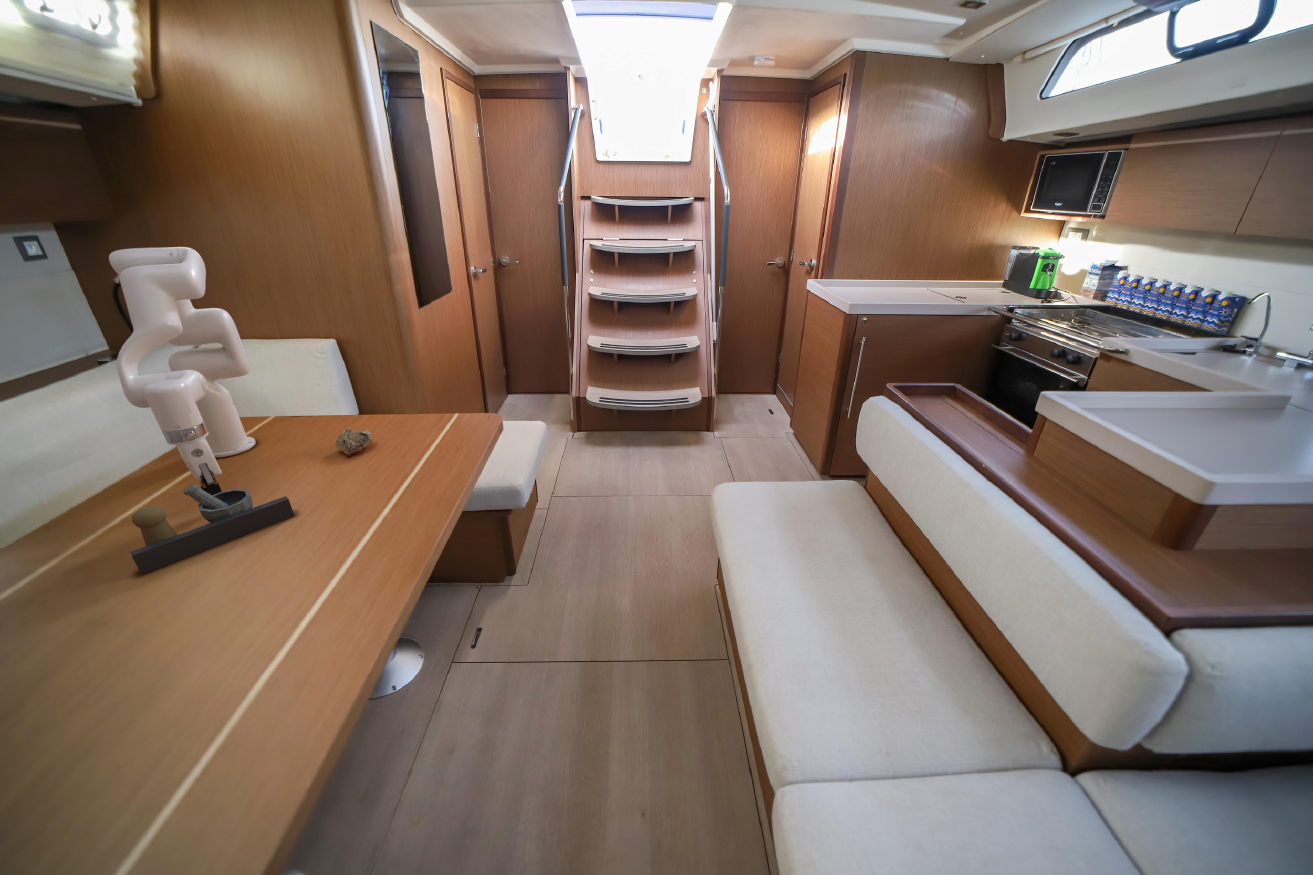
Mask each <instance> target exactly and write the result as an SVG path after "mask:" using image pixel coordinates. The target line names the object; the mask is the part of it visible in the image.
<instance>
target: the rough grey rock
mask: <svg viewBox="0 0 1313 875" xmlns="http://www.w3.org/2000/svg"><path fill="white" fill-rule="evenodd" d="M372 439H373V434H372V433H371V432H370V431H369V430H368V429H363V430H352V429H351V428H347V429H345V430H343V431H342V432H341V433H340V434H339V435H338V437H337V439H336V440H335V442H336V443H335V446H336V448H337V449H338V450H340V451H342V453H344V454H346V455H347V456H351V455H353V454H355V453H357V452H359V451H362V450H363V449H365V448H366V447H367V446H368V445H370V443H371V442H372Z"/></svg>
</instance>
